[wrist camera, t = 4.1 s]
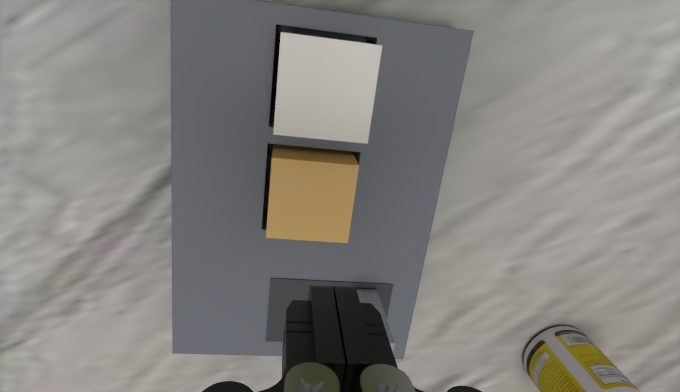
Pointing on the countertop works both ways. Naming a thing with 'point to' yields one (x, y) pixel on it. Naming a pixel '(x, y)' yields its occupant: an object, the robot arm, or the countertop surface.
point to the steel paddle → (374, 299)
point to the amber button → (311, 193)
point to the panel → (257, 133)
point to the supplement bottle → (571, 364)
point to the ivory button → (325, 87)
